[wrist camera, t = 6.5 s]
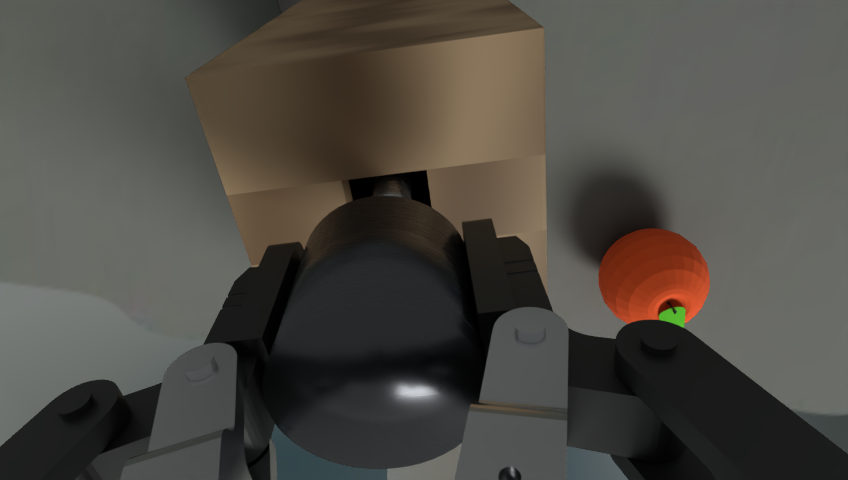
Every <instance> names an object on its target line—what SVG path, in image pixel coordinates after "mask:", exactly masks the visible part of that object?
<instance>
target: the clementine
mask: <svg viewBox="0 0 848 480" xmlns="http://www.w3.org/2000/svg"><path fill="white" fill-rule="evenodd" d="M709 285H710V279H709V272H708V267H707V263H706V262H705V260H704V258H703V257H702V255H701V253H700V252H699V250H698V249H697V247H696V246H694V245H693V244H692V243H690V242H689V241H688V240H686V239H685V238H684V237H682V236H681V235H680V234H677V233H674V232H671V231H667V230H663V229H654V228H648V229H642V230H637V231H634V232H632V233H629V234H627V235H625V236H623V237H622V238H620V239H619V240H617V241H616V242H615V243H614V244H613V245H612V246H611V247H610V248H609V249H608V250H607V252H606V254H605V255H604V257H603V259H602V262H601V265H600V269H599V287H600V291H601V294H602V296H603V299H604V302H605V303H606V304H607V306H608V307H609V308H610V309H611V311H612V312H613V313H614V314H615V315H616V317H618V318H620V319H621V320H623V321H624V322H626V323H628V324H629V323H631V322H635V321H639V320H649V319H652V320H662V321H667V322H670V323H674V324H676V325H679V326H681V327H683V328H684V323H686V322H688V321H689V320H690V319H691V318H693V317H694V316H695V315H696V314H697V313H698V312H699V310H700V309H701V308H702V306H703V304H704V301H705V299H706V297H707V295H708V292H709Z"/></svg>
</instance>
